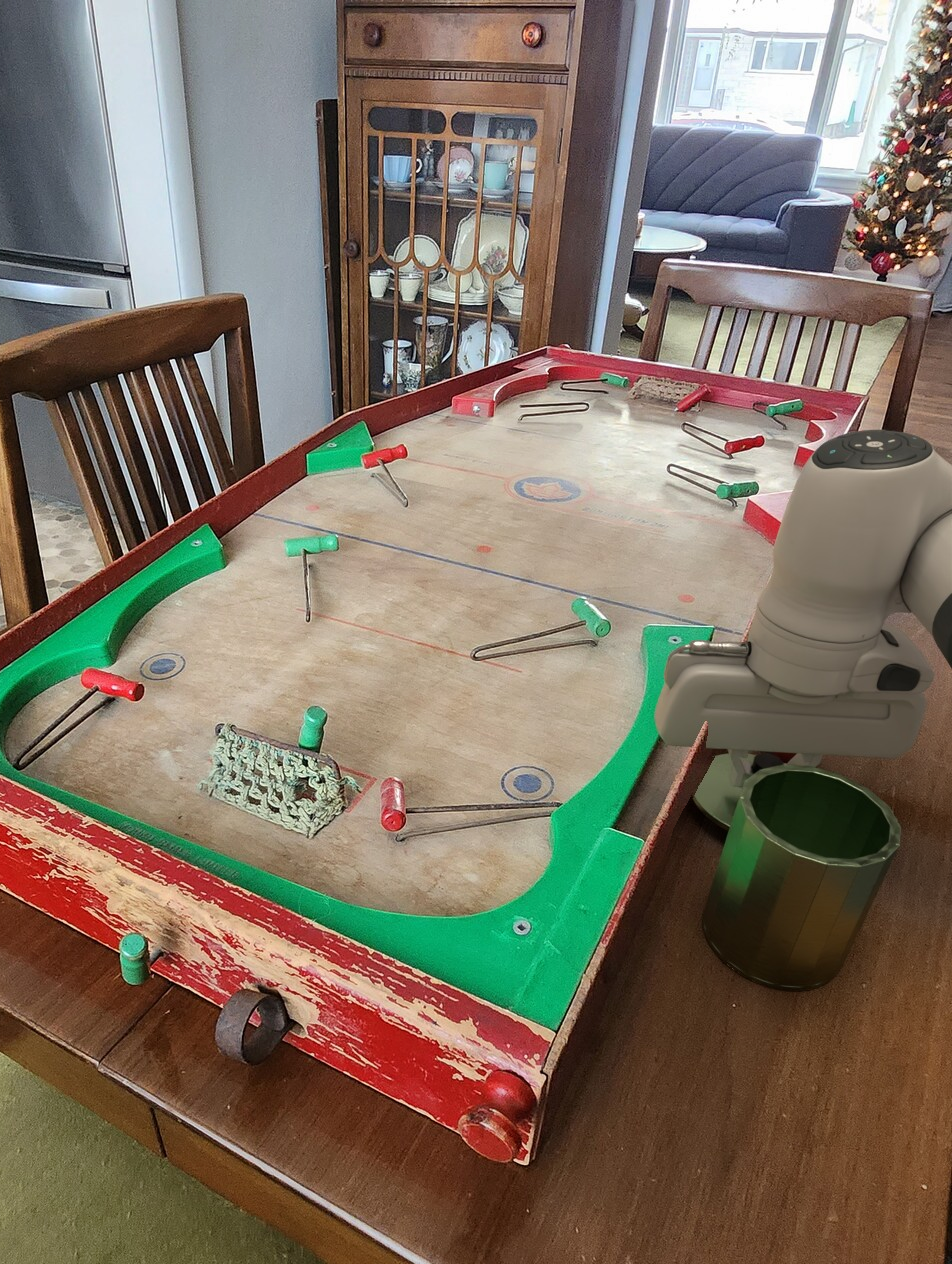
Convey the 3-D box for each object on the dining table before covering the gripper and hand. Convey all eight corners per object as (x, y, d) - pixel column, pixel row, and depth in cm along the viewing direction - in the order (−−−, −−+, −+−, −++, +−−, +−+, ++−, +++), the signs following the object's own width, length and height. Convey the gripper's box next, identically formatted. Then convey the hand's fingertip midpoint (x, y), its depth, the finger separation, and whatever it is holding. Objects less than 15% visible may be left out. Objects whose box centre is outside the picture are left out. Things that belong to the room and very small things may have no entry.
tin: (818, 890, 73) (869, 769, 65) (862, 996, 64) (925, 870, 57) (690, 882, 73) (726, 760, 66) (717, 986, 65) (762, 860, 57)
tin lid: (801, 766, 84) (816, 725, 81) (842, 853, 74) (860, 810, 72) (677, 759, 84) (688, 718, 81) (702, 844, 75) (715, 801, 72)
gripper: (679, 660, 68) (645, 801, 76) (957, 676, 67) (893, 816, 75) (665, 619, 73) (635, 754, 81) (923, 633, 72) (867, 768, 80)
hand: (761, 784), depth 78 cm, fingers closed on tin lid, 2 cm apart
